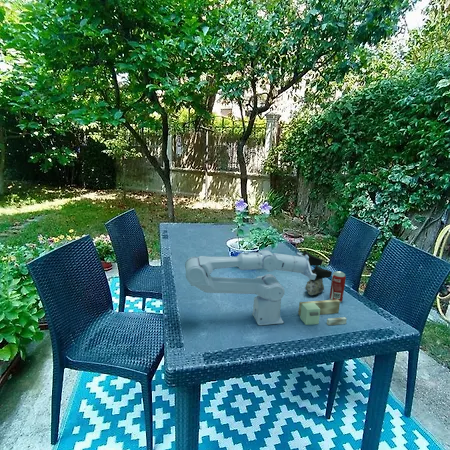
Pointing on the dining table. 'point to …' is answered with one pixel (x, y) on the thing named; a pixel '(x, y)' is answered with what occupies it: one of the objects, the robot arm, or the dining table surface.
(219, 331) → the dining table surface
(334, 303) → the wall board
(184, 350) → the dining table surface
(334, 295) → the soda can
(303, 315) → the cabinet block
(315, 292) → the mineral rock
